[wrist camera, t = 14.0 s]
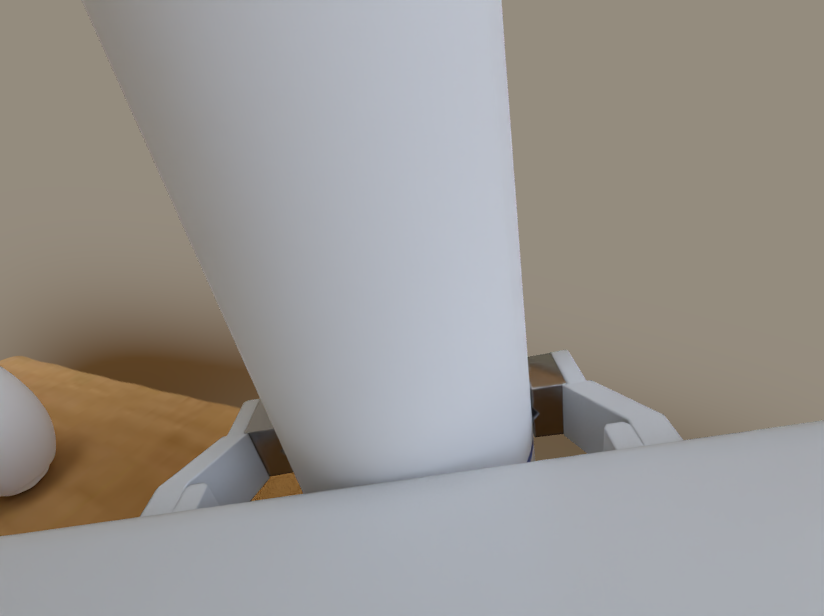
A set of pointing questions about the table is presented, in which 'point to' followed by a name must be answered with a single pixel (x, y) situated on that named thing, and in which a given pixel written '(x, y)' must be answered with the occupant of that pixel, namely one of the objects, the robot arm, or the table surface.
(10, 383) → the white bulb air blower
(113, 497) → the table surface
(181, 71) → the cylindrical container
